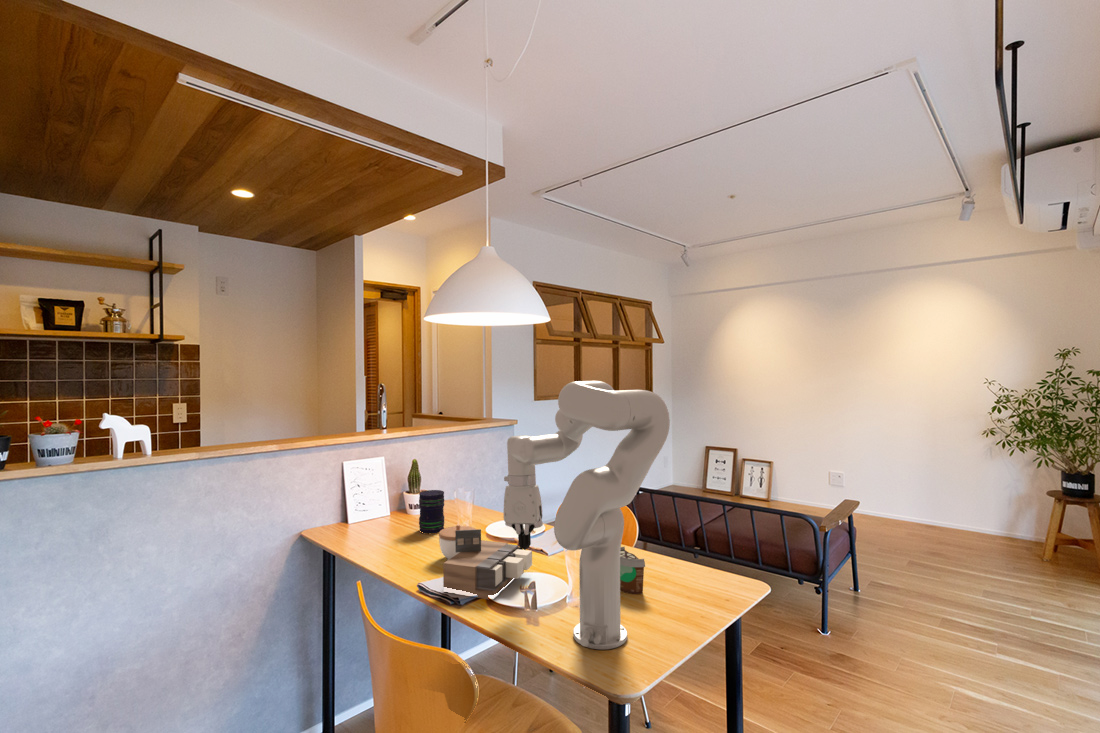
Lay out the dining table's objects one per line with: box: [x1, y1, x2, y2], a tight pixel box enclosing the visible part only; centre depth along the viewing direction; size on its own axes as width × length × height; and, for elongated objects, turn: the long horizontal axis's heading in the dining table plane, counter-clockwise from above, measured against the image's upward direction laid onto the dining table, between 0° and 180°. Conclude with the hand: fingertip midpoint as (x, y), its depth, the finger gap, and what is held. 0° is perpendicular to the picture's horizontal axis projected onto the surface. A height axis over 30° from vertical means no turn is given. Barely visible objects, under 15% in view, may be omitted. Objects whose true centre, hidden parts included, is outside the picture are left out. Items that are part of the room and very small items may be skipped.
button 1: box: [491, 564, 502, 586], centre depth 147 cm, size 4×5×4 cm
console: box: [442, 528, 525, 600], centre depth 156 cm, size 22×17×15 cm
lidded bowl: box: [438, 524, 477, 561], centre depth 176 cm, size 13×13×11 cm
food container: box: [620, 546, 646, 595], centre depth 150 cm, size 12×6×10 cm, turn 21°
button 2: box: [513, 549, 533, 571], centre depth 159 cm, size 4×5×4 cm
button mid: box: [503, 557, 524, 580], centre depth 153 cm, size 4×5×4 cm
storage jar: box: [418, 489, 445, 534], centre depth 208 cm, size 10×10×15 cm
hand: (524, 548), depth 143 cm, fingers closed
